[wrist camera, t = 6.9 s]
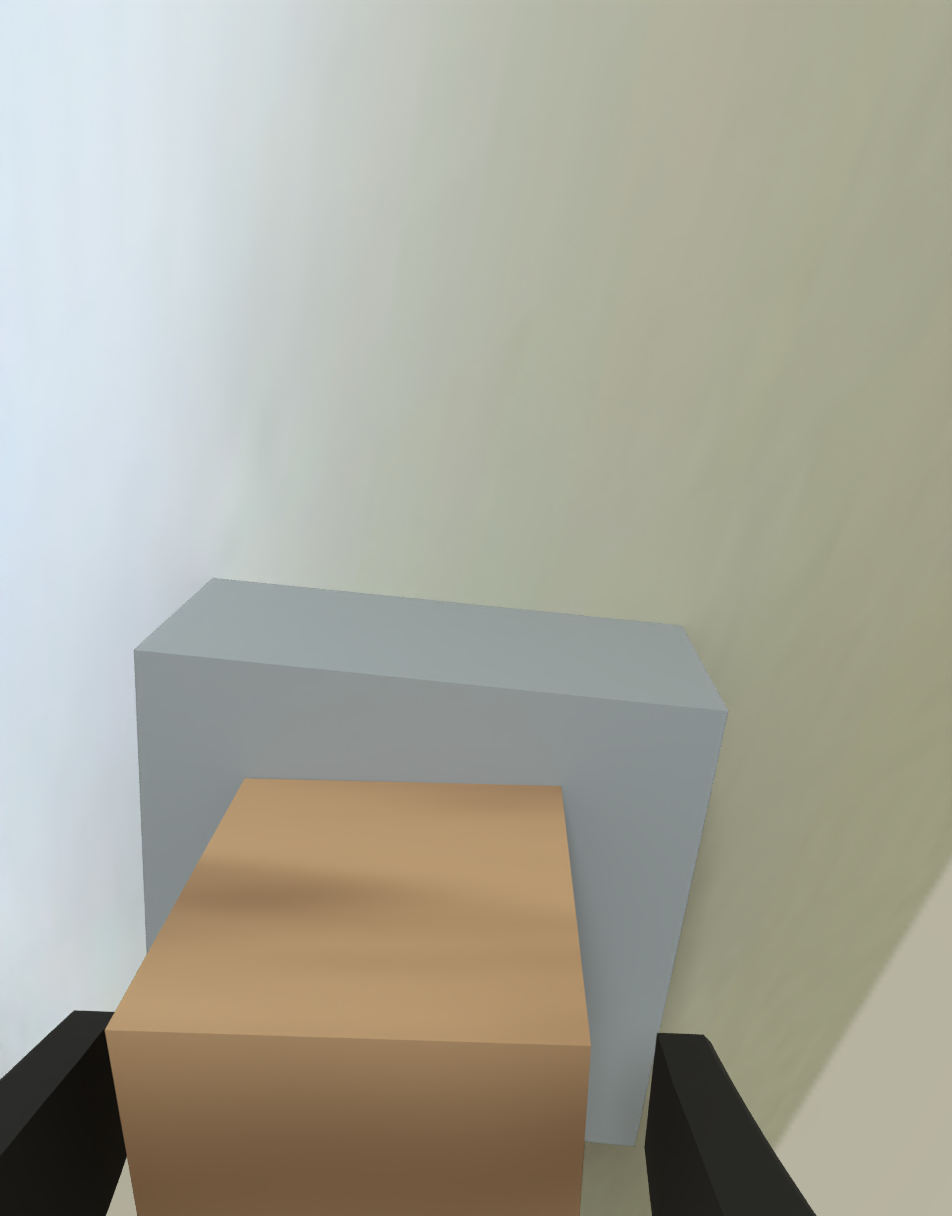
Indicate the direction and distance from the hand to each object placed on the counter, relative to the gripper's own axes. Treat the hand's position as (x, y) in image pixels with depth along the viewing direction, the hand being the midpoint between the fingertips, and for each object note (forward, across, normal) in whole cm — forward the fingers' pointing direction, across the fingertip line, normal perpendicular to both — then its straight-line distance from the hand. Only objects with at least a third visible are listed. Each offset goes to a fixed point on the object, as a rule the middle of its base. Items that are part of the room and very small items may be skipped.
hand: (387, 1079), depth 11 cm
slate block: (+7, 0, 0) cm, 7 cm away
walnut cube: (+3, 0, 0) cm, 3 cm away
